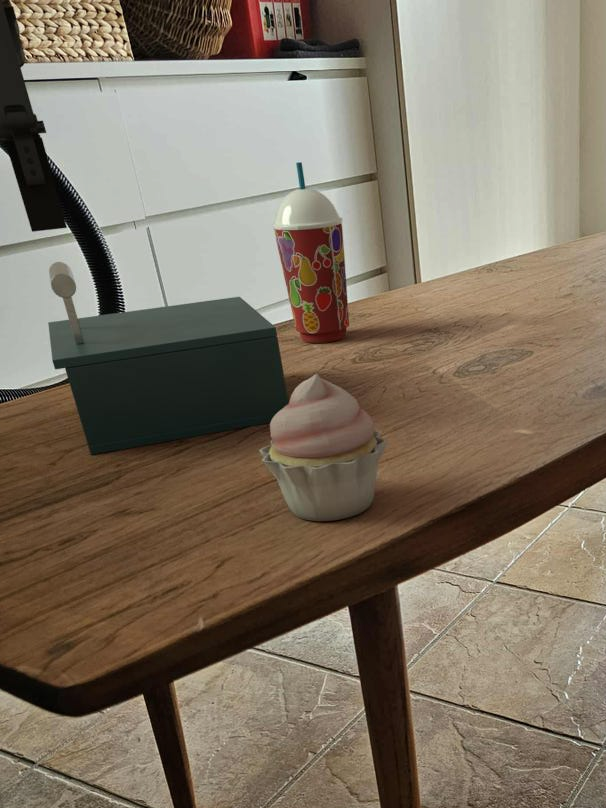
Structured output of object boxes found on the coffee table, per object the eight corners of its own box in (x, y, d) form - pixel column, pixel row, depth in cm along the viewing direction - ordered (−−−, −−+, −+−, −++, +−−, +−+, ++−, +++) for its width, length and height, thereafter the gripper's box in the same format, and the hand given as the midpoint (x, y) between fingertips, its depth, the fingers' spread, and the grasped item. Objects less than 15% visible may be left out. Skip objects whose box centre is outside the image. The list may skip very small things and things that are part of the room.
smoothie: (369, 333, 116) (349, 158, 106) (328, 348, 110) (301, 165, 100) (320, 328, 120) (296, 159, 110) (278, 343, 114) (247, 166, 104)
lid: (55, 369, 77) (29, 286, 73) (50, 330, 91) (28, 258, 87) (277, 336, 83) (263, 257, 80) (241, 304, 97) (228, 236, 93)
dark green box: (90, 455, 81) (65, 368, 77) (81, 405, 95) (58, 329, 91) (291, 418, 87) (277, 336, 83) (254, 376, 101) (241, 304, 97)
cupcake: (350, 540, 63) (329, 399, 58) (245, 521, 67) (217, 387, 61) (417, 491, 70) (404, 361, 65) (319, 476, 74) (299, 353, 68)
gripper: (10, -119, 59) (101, 231, 70) (14, -61, 79) (85, 205, 90) (-117, -119, 57) (-2, 242, 68) (-80, -59, 77) (5, 214, 88)
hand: (48, 222), depth 79 cm, fingers open, 13 cm apart
